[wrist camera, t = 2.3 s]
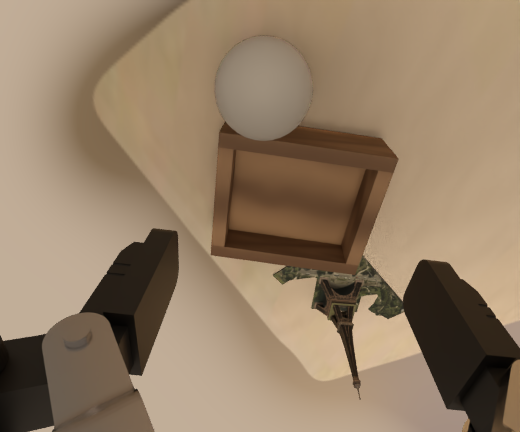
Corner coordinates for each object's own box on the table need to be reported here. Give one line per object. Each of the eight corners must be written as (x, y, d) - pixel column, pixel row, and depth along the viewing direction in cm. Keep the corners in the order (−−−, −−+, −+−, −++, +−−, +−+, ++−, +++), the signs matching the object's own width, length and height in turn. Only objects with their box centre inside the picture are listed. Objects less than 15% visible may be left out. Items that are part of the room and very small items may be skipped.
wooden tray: (228, 115, 29) (219, 132, 25) (381, 138, 30) (398, 158, 25) (219, 226, 36) (210, 255, 31) (346, 244, 36) (354, 275, 32)
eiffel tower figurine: (410, 306, 41) (460, 418, 29) (341, 339, 45) (362, 449, 33) (341, 228, 36) (370, 328, 24) (270, 273, 39) (265, 377, 28)
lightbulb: (233, 109, 29) (210, 154, 20) (229, 30, 26) (200, 38, 17) (302, 110, 29) (313, 155, 19) (307, 30, 26) (322, 38, 16)
